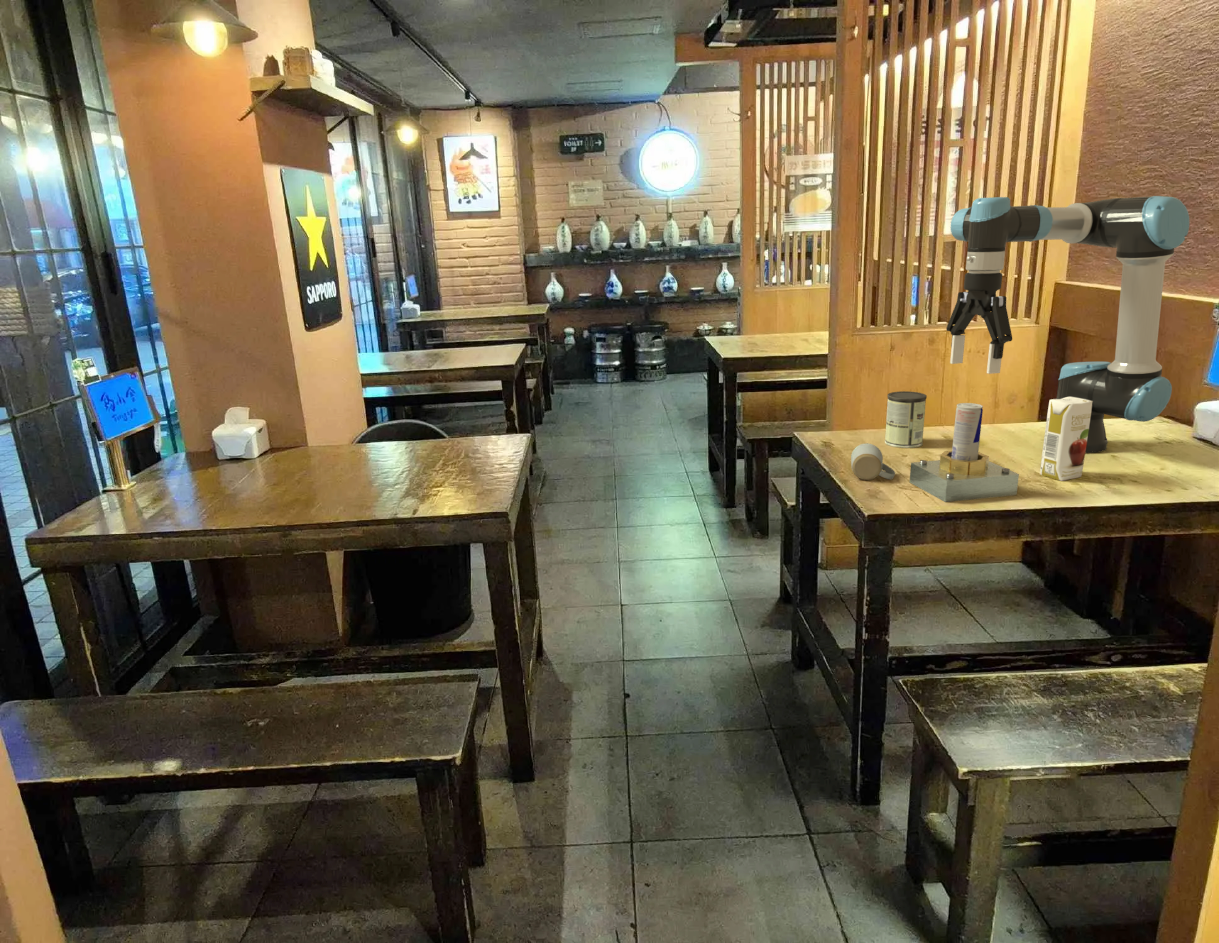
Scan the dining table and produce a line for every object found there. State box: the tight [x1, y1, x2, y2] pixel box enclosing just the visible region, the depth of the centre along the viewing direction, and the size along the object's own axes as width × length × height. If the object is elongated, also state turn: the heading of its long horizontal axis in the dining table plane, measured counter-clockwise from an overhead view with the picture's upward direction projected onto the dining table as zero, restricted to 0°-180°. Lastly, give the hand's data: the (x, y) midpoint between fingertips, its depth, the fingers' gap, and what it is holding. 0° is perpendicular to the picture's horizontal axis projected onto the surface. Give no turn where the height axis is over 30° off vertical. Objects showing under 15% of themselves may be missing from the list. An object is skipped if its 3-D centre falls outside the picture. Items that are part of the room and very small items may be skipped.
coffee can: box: [884, 390, 928, 449], centre depth 228 cm, size 10×10×14 cm
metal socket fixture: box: [909, 450, 1020, 503], centre depth 190 cm, size 18×15×8 cm
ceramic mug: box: [850, 442, 896, 481], centre depth 201 cm, size 11×8×8 cm
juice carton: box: [1039, 396, 1092, 481], centre depth 195 cm, size 8×9×19 cm
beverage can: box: [951, 402, 984, 461], centre depth 187 cm, size 6×6×15 cm
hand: (974, 368), depth 183 cm, fingers open, 13 cm apart
